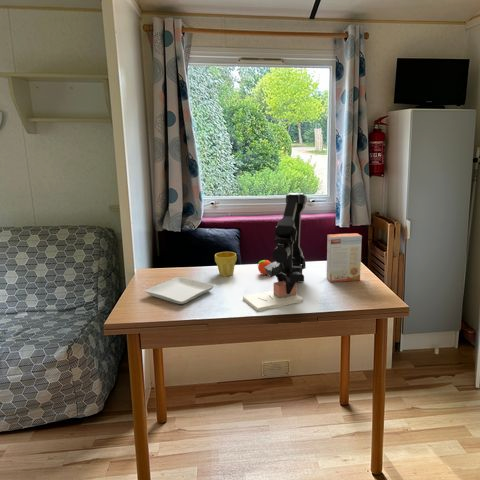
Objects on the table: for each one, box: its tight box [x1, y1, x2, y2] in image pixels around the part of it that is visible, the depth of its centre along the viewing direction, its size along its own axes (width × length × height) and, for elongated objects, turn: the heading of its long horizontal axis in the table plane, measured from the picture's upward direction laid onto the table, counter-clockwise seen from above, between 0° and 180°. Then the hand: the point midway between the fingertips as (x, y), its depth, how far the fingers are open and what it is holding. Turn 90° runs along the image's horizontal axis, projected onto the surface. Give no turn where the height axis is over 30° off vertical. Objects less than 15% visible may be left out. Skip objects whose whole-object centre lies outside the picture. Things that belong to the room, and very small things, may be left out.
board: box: [242, 289, 304, 312], centre depth 159 cm, size 20×13×1 cm, turn 115°
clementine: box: [256, 259, 272, 276], centre depth 189 cm, size 8×7×7 cm
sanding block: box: [273, 281, 298, 298], centre depth 161 cm, size 8×4×5 cm, turn 114°
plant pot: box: [214, 251, 238, 277], centre depth 191 cm, size 10×10×10 cm
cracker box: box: [326, 232, 363, 283], centre depth 178 cm, size 14×6×21 cm, turn 94°
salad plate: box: [144, 276, 215, 305], centre depth 167 cm, size 21×21×3 cm
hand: (285, 292), depth 161 cm, fingers closed on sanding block, 4 cm apart
